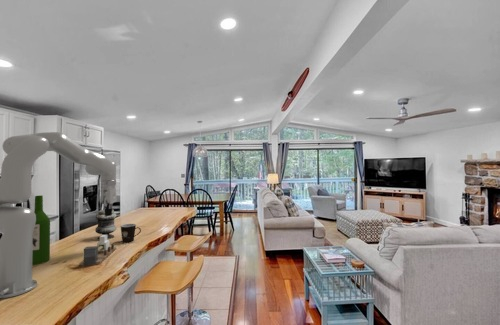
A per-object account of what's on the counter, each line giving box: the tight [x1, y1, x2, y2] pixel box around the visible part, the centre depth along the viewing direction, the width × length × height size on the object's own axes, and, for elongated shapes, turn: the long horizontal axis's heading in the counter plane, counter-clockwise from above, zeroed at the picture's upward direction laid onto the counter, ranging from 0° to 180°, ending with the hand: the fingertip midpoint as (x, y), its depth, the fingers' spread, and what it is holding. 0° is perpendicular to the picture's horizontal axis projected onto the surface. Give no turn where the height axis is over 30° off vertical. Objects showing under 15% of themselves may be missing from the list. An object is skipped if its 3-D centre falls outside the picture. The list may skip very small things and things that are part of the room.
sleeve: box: [96, 234, 111, 251], centre depth 133 cm, size 5×4×8 cm
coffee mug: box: [120, 223, 142, 244], centre depth 153 cm, size 12×9×10 cm
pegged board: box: [78, 243, 117, 267], centre depth 128 cm, size 22×9×8 cm, turn 11°
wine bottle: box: [32, 195, 51, 266], centre depth 121 cm, size 9×9×32 cm
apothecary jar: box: [94, 209, 117, 241], centre depth 162 cm, size 12×12×18 cm
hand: (108, 215), depth 140 cm, fingers closed
